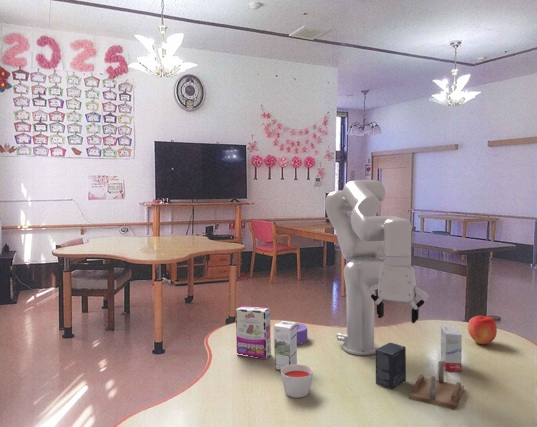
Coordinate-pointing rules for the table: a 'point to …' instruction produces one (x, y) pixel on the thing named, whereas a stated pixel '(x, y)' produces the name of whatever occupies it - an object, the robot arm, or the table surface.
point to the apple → (482, 329)
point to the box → (390, 365)
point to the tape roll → (301, 333)
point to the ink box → (451, 348)
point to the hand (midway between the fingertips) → (397, 319)
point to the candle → (297, 380)
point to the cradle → (437, 390)
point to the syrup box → (285, 344)
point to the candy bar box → (253, 331)
